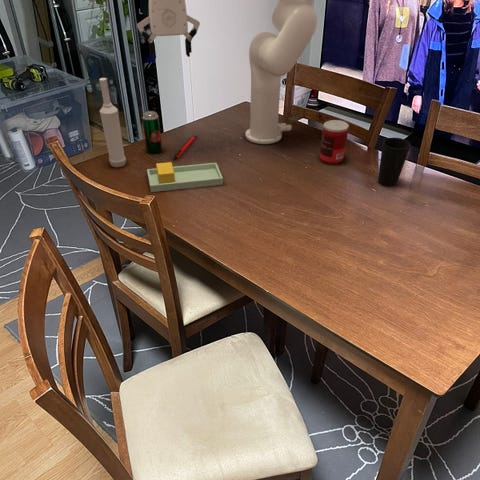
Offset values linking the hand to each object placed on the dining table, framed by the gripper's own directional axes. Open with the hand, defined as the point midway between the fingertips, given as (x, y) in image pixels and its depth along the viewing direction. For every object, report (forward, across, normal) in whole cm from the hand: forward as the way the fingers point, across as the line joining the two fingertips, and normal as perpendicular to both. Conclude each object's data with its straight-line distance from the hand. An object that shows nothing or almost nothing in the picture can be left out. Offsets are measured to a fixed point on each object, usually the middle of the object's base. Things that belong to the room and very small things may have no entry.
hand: (171, 56), depth 137 cm
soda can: (+28, -8, +2) cm, 30 cm away
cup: (+28, +58, -34) cm, 73 cm away
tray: (+28, -1, -20) cm, 35 cm away
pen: (+29, +2, +2) cm, 29 cm away
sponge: (+28, -7, -20) cm, 35 cm away
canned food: (+28, +47, -16) cm, 57 cm away
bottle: (+28, -20, -5) cm, 35 cm away
